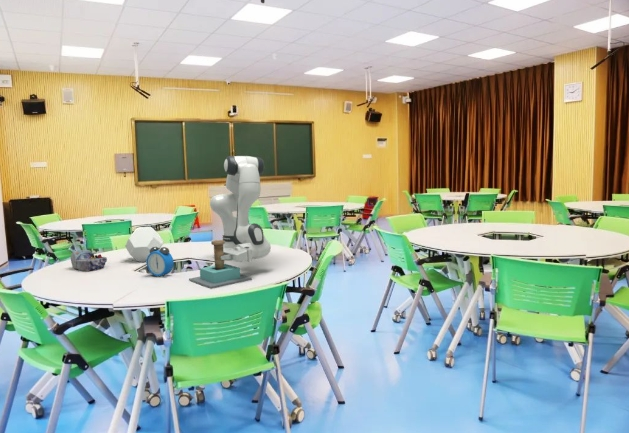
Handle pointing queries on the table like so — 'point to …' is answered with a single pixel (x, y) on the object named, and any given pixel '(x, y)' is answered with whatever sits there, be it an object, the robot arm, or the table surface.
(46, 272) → the table surface
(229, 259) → the robot arm
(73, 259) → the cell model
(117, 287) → the table surface
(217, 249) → the pin
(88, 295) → the table surface
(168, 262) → the alarm clock
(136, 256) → the geometric form
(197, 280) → the socket board
